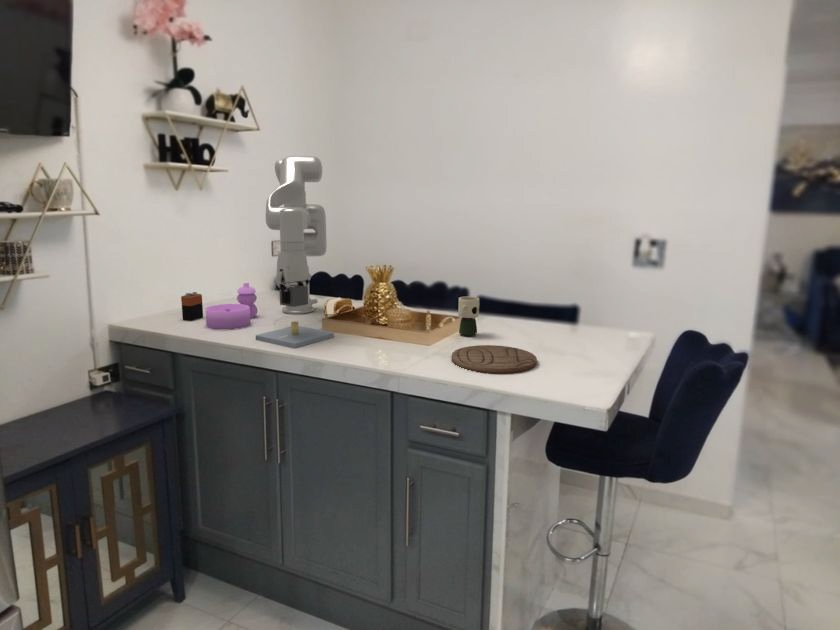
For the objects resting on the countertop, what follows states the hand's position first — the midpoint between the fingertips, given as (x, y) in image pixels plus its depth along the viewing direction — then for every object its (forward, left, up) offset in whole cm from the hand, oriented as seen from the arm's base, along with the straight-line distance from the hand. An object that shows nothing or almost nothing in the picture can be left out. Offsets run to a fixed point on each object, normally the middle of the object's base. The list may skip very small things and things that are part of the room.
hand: (294, 301), depth 199 cm
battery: (+2, -52, -13) cm, 54 cm away
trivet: (-16, +66, -13) cm, 69 cm away
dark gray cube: (0, 0, -1) cm, 1 cm away
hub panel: (0, 0, -13) cm, 13 cm away
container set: (-4, -36, -13) cm, 38 cm away
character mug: (-39, +44, -13) cm, 60 cm away
